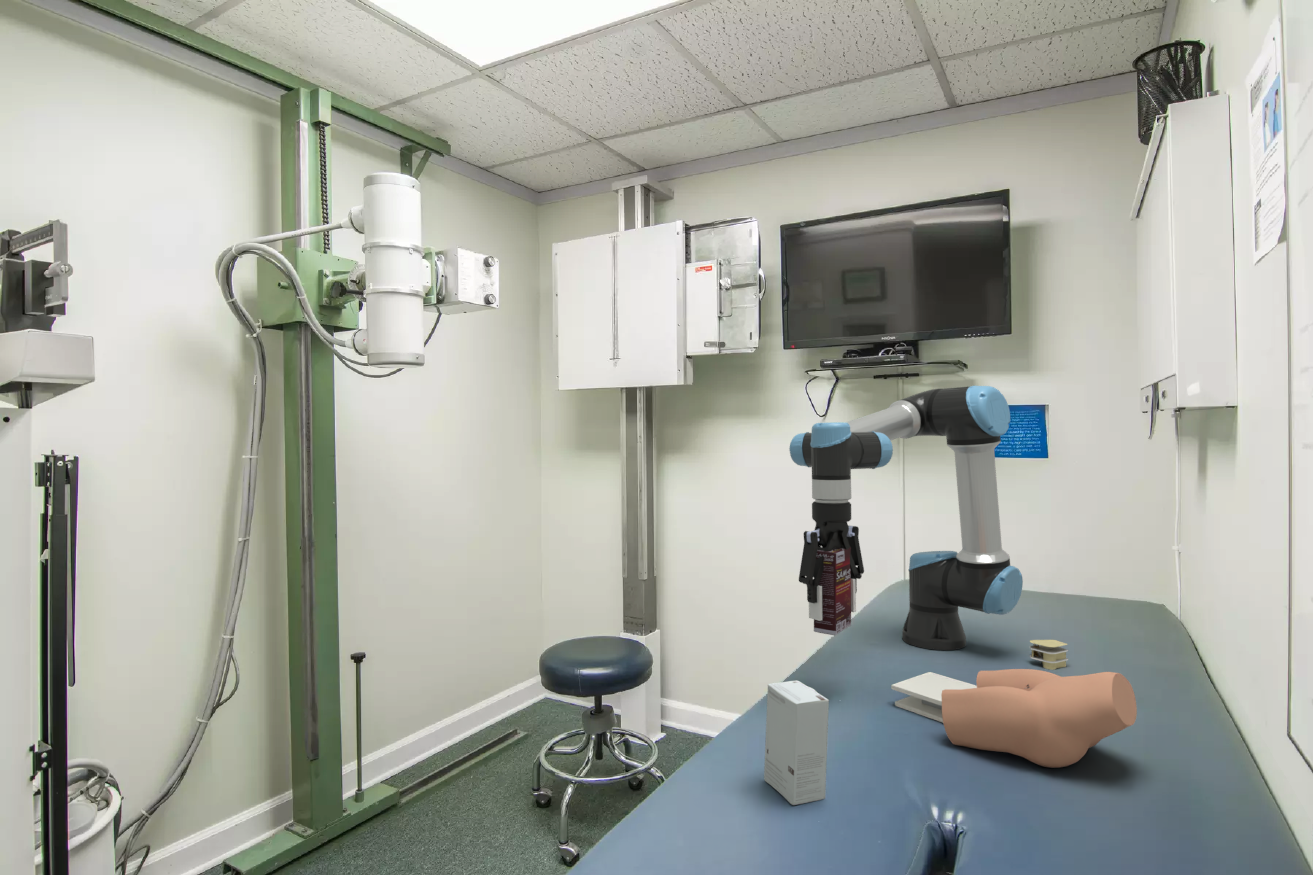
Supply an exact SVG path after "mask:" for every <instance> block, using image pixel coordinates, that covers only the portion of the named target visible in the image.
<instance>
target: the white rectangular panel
mask: <svg viewBox="0 0 1313 875" xmlns="http://www.w3.org/2000/svg"><path fill="white" fill-rule="evenodd" d="M890 688H891V690H893V691H896V692H899V693H901V694H905V695H908V696H907V697H903V698H901V699H898V700H896V701H894V706H895V707H898V708H901V709H904V710H906V711H909V712H912V713H914V714H917V715H920V716H923V717H926V718H928V719H931V720H935V721H937V722H940V723H943V717H942V697H941V694H942V690H945V689H954V690H962V689H971V688H977V684H976V685H975V684H972V683H969V682H966V681H962V680H959V679H955V678H952V677H948V676H945V675H942V674H938V673H934V672H933V671H932V672H931V671H928V672H925V673H923V674H918V675H917V676H913V677H910V678H907V679H905V680H902V681H898V682H896V683H893V684H891V685H890ZM943 724H944V723H943Z"/></svg>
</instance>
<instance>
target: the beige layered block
mask: <svg viewBox="0 0 1313 875" xmlns="http://www.w3.org/2000/svg"><path fill="white" fill-rule="evenodd" d="M1029 642H1030V643H1032V644H1033V645H1029V649H1030V650H1031V654H1029V657H1030V659H1032V660H1036V661H1040V662H1041V665H1042V668H1044V669H1046V670H1053V671H1054V670H1056V669H1060V668H1066V667H1067V661H1069V658H1067V652H1069V649H1066V648H1064V647H1063V646H1067V645H1069V644H1068V643H1065V642H1062V641H1059V640H1056V639H1031V640H1029Z"/></svg>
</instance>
